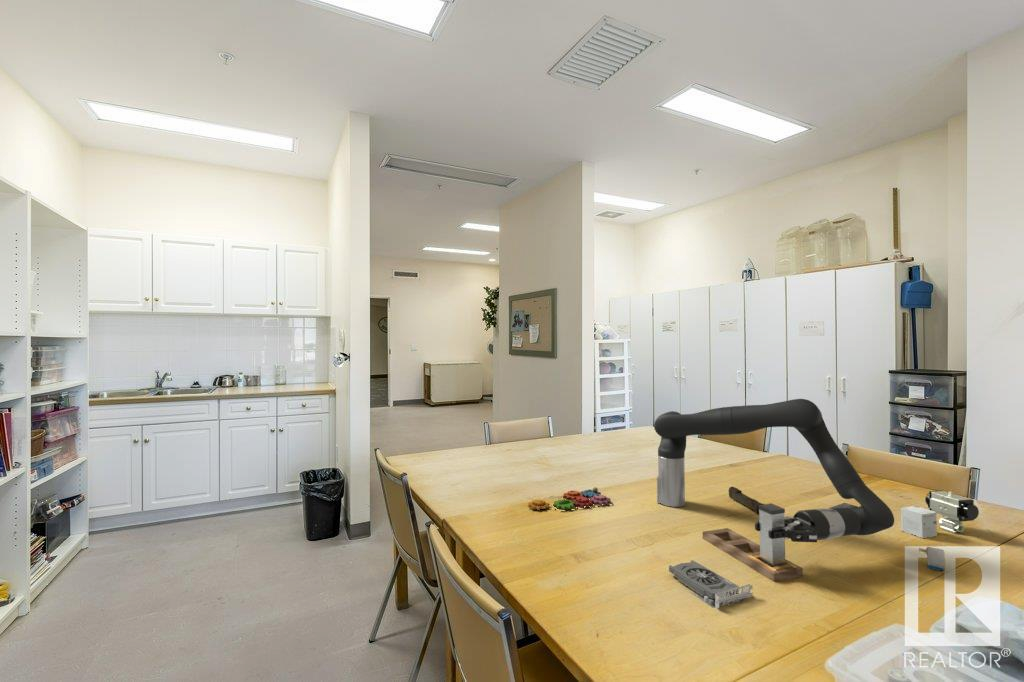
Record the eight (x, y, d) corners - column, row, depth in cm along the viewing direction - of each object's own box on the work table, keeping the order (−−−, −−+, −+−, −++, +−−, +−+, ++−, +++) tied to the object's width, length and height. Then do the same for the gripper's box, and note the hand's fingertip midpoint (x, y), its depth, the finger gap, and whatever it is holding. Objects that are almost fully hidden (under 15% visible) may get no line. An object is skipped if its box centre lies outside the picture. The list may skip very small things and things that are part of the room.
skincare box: (922, 539, 135) (922, 514, 135) (900, 531, 141) (900, 507, 141) (937, 536, 137) (937, 512, 137) (914, 528, 143) (914, 505, 143)
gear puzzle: (535, 517, 156) (535, 505, 156) (520, 502, 172) (519, 491, 172) (615, 506, 166) (615, 495, 166) (594, 493, 181) (594, 482, 181)
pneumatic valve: (937, 522, 147) (936, 485, 147) (979, 538, 136) (979, 497, 136) (922, 524, 146) (922, 486, 146) (964, 539, 135) (963, 498, 135)
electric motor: (918, 559, 123) (918, 540, 123) (943, 564, 120) (942, 545, 120) (920, 569, 118) (919, 550, 118) (945, 575, 115) (945, 555, 115)
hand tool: (768, 515, 155) (768, 501, 155) (757, 516, 155) (756, 502, 155) (736, 497, 174) (736, 484, 174) (726, 497, 174) (726, 485, 174)
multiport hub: (858, 513, 157) (858, 506, 157) (836, 521, 150) (836, 514, 150) (844, 509, 161) (844, 502, 161) (821, 517, 154) (821, 510, 154)
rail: (702, 538, 137) (702, 530, 137) (727, 534, 140) (727, 527, 140) (773, 581, 112) (773, 572, 112) (802, 576, 115) (802, 567, 115)
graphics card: (756, 585, 105) (717, 596, 101) (756, 601, 105) (717, 613, 101) (700, 555, 121) (664, 563, 116) (700, 569, 121) (664, 577, 116)
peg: (759, 558, 120) (758, 505, 120) (772, 556, 121) (771, 503, 121) (772, 566, 116) (771, 510, 116) (786, 563, 117) (784, 508, 117)
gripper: (797, 500, 128) (743, 506, 125) (843, 520, 114) (783, 526, 111) (797, 527, 128) (743, 533, 125) (843, 550, 114) (784, 557, 111)
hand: (762, 530), depth 118 cm, fingers closed on peg, 4 cm apart
